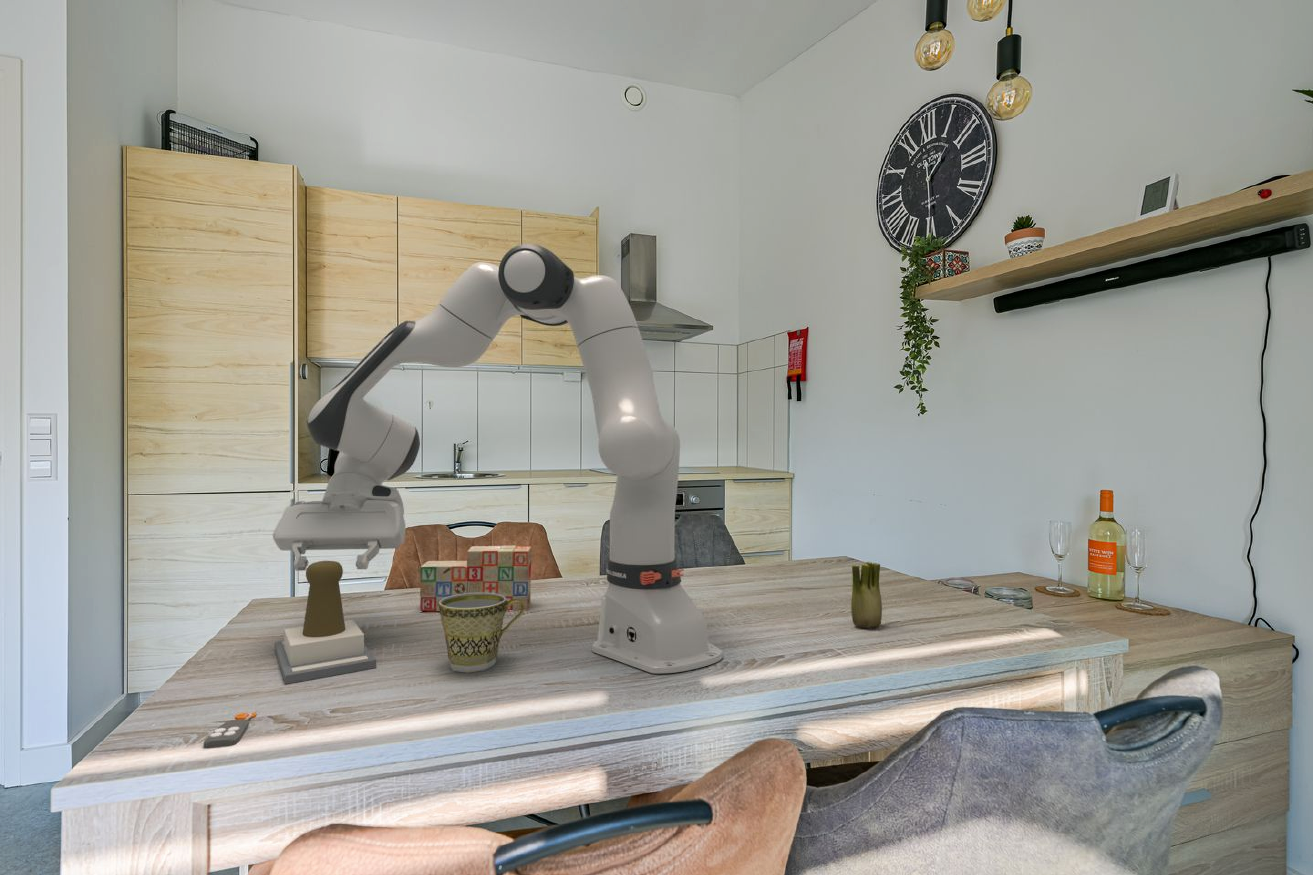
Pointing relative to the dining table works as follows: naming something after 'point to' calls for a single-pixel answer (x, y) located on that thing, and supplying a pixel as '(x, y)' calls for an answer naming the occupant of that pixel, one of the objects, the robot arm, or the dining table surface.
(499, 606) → the ceramic cup
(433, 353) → the robot arm
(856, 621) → the fennel bulb
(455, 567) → the stack of blocks
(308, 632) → the cork
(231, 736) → the key chain
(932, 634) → the dining table surface
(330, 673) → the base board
